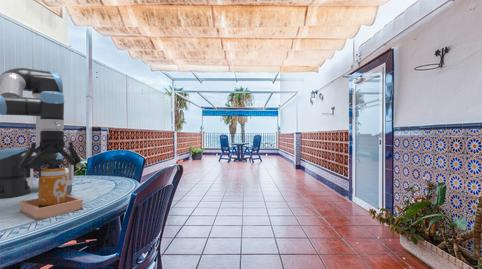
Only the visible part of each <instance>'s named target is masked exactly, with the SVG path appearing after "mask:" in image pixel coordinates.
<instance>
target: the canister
mask: <svg viewBox="0 0 482 269" xmlns="http://www.w3.org/2000/svg"><path fill="white" fill-rule="evenodd" d="M44 162H45V163H44ZM43 163H44V164H43ZM64 163H65V161H64V160H63V158H62V159H52V158H50V159H49V160H47V159H44V160H43V161H42V162H40V163H39V164H38V167H39V172H38V194H37V197H38V204H39V205H38V208H42V207H47V206H52V205H56V204H61V203H66V201H67V175H66V170H65V168H66V167H63V166H62V164H64ZM42 164H43V166H42V167H41V165H42ZM59 165H61V166H62V167H63V168H62V167H59Z"/></svg>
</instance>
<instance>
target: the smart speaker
mask: <svg viewBox="0 0 482 269" xmlns="http://www.w3.org/2000/svg"><path fill="white" fill-rule="evenodd" d="M62 168H65V170H66V175H67V195H70V196H71V194H72V191H73V180H69V167H63V166H62Z"/></svg>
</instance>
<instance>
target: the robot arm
mask: <svg viewBox="0 0 482 269" xmlns="http://www.w3.org/2000/svg"><path fill="white" fill-rule="evenodd" d="M24 92H31V93H32V94H31V95H32V96H33V97H25V96H24V95H23V94H24ZM64 114H65V96H64V86H63V80H62V76H61V75H60V73H57V72H54V71H53V72H52V71H49V70H48V71H47V70H41V69H39V70H38V69H32V68H27V67H15V68H11V69H8V70H5V71H4V72H2V73H1V74H0V115H1V116H22V117H23V116H25V117H26V116H28V117H35V142H29V145H28V148H27V147H25V146H23V147H22V146H21V147H13V148H12V147H11V148H5V149H0V199H6V198H7V199H10V198H17V197H21V196H25V195H29V194H30V193H32V192H31V191H32V190H31V189H32V188H31V187H34V173H39V167H38V164H39V163H40V162H42V161H43V160H44V159H47V160H49V159H50V158H52V159H62V160H63V158H65V160H66V161H68V163H70V164H68V169H69V180H72V181H74V174H75V172H76V171H77V165H78V164H80V163H81V162H82V160H81V158H80V156H79V155H78V153H77V152H76V150H75V148H74V145H73V144H74V143H73V142H72V141H67V142H65V141H64V140H65V132H64V129H65V117H64ZM64 147H65V148H67V150H68V152H69V153H70V154H71V156H70V154H68V153H67V152H66V150H65V149H64ZM44 163H45V162H44ZM44 163H43V164H44ZM43 164H42V165H41V167H42V166H43ZM61 166H62V164H61V165H59V167H61Z"/></svg>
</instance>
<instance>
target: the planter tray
mask: <svg viewBox="0 0 482 269" xmlns="http://www.w3.org/2000/svg"><path fill="white" fill-rule="evenodd" d="M83 201H84V200H83V198H79V197H75V196H72V195H71V194H70V195H67V201H66V203H61V204H56V205H52V206H47V207H42V208H38V205H39V204H38V198H34V199H33V198H32V199H27V200H22V201H19V213H21V214H23V215H26V216H27V217H29V218H31V219H33V220H35V221H40V220H45V219H47V218H52V217H56V216H60V215H65V214H69V213H73V212H77V211H81V210H83V209H84V208H83V204H84V203H83Z"/></svg>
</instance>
